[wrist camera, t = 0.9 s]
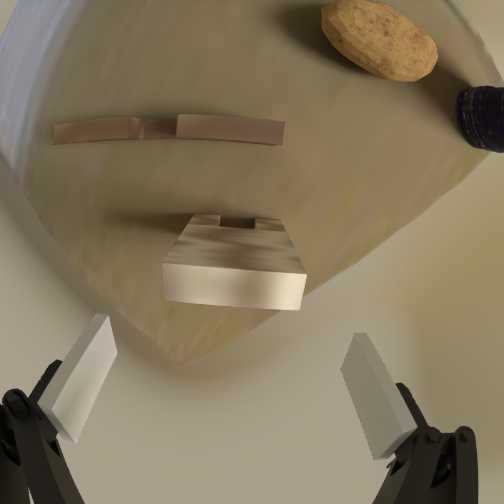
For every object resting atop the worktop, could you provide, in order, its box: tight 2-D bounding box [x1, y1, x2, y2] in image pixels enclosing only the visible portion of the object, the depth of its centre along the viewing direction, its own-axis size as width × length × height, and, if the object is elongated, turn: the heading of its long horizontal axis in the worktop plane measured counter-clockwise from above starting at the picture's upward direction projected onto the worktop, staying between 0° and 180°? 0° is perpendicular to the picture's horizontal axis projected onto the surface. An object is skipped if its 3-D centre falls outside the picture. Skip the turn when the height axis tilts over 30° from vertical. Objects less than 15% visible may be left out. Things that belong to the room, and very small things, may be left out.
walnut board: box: [53, 114, 285, 145], centre depth 24 cm, size 2×22×8 cm, turn 84°
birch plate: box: [162, 213, 307, 310], centre depth 25 cm, size 10×3×14 cm, turn 84°
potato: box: [321, 0, 438, 82], centre depth 20 cm, size 10×14×8 cm
